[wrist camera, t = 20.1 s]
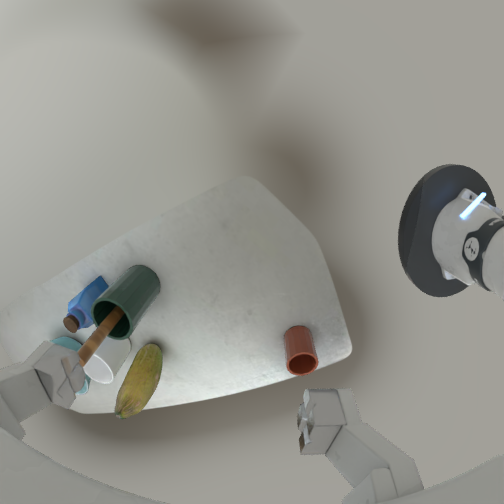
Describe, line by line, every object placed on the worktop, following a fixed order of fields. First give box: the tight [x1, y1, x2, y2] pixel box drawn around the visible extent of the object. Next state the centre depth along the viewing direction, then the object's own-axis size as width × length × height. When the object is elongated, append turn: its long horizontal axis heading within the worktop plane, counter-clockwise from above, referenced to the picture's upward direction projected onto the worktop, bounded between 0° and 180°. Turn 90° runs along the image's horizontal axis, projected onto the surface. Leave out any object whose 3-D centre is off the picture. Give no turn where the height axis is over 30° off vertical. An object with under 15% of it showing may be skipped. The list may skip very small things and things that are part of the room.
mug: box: [83, 337, 131, 384], centre depth 49 cm, size 12×8×10 cm
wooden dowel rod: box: [78, 306, 125, 367], centre depth 37 cm, size 3×3×22 cm
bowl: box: [50, 337, 90, 395], centre depth 52 cm, size 16×16×8 cm
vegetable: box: [115, 344, 162, 419], centre depth 44 cm, size 6×6×20 cm
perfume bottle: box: [63, 276, 108, 333], centre depth 44 cm, size 6×6×12 cm
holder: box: [284, 326, 318, 376], centre depth 47 cm, size 5×5×8 cm
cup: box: [91, 265, 160, 340], centre depth 42 cm, size 7×8×13 cm
